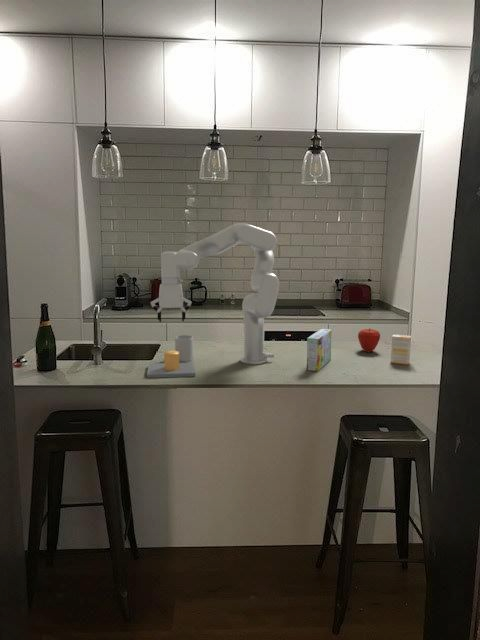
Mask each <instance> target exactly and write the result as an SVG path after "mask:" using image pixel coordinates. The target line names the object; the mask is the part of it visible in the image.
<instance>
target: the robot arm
mask: <svg viewBox="0 0 480 640" xmlns="http://www.w3.org/2000/svg"><path fill="white" fill-rule="evenodd" d="M239 244H245V245H248V246H250V248H251V249H252V250H253V252H254V256H255V261H254V267H253V270H252V274H251V279H250V287H251V289H252V290H253V291H255V292H257V293H258V294H256V293H250V294H248V295H246V296H245V297H244V298H243V300H242V304H241V306H242V314H243V356H241V357H240V359H239V361H240V362H241V363H242V364H245V365H263V364H265V363H267V361H268V358H270V359H272V358H274V357H275V355H274V353H271V352H266V351H265V319H266V318H269V317H270V316H271V315H272V314H273V311H274V309H275V306H276V303H277V300H278V296H279V295H278V294H279V290H280V279H279V278H278V276H277V275H276V274H275V273H273V270H274V264H275V254H274V252H273V250H275V248H276V246H277V244H278V239H277V236H276V235H275V234H274V233H273V232H272V231H269V230H266V229H263V228H261V227H259V226H258V227H257V226H255V225H252V224H250V223H245V222H243V223H241V222H238V223H233V224H232V225H230V226H228V227H226V228H224V229H222V230H220V231H218V232H216V233H214V234H211V235H210V236H208V237H204V238H203V239H201V240H198V241H196V242H194V243H193V242H192V243H191V244H188V245H187V246H185V247H183V248H181V249H179V250H178V251H163V252H162V253H161V254H160V266H161V267H160V268H161V271H160V272H161V283H160V284H159V289H158V290H159V292H158V297H157V298H155V299H154V300H152V301H150V306H151V307H152V309H153V310H154V311H155V312H157V320H158V322H159V323H161V322H162V310H163V309H180V310H181V311H182V312H181V321H182V322H185V320H186V312H187V310H189V309H190V307H191V306H192V303H193V302H192V301H191V300H190V299H188V298H185V297H184V291H183V286H182V285H183V284H182V282H184V278H183V277H181V276H180V273H181V272H180V269H185V270H193V269H195V268H197V266H199V264H200V259H203V258H205V257H210V256H211V257H212V256H217V255H219V254H223V252H226V251H227V250H229V249H232V248H233V247H235V246H237V245H239ZM184 302H185V303H187V304H186V306H185V307H184ZM156 303H158V304H159V305H158V306H159V307H158V306H157V305H156Z"/></svg>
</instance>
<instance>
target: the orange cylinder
mask: <svg viewBox="0 0 480 640" xmlns="http://www.w3.org/2000/svg"><path fill="white" fill-rule="evenodd" d="M163 360H164V361H163V363H164V369H165V370H177V369H179V363H180V362H179V352H178V351H175V350H166V351H164V352H163Z"/></svg>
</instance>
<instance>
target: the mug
mask: <svg viewBox="0 0 480 640" xmlns="http://www.w3.org/2000/svg"><path fill="white" fill-rule="evenodd" d="M174 341H175V342H174V346H175V347H174V349H175V350H174V351H178V352H179V363H191V362H193V361H194V336H192V335H188V334H187V335H185V334H183V335H181V334H180V335H176V336H175V338H174ZM192 360H193V361H192Z"/></svg>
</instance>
